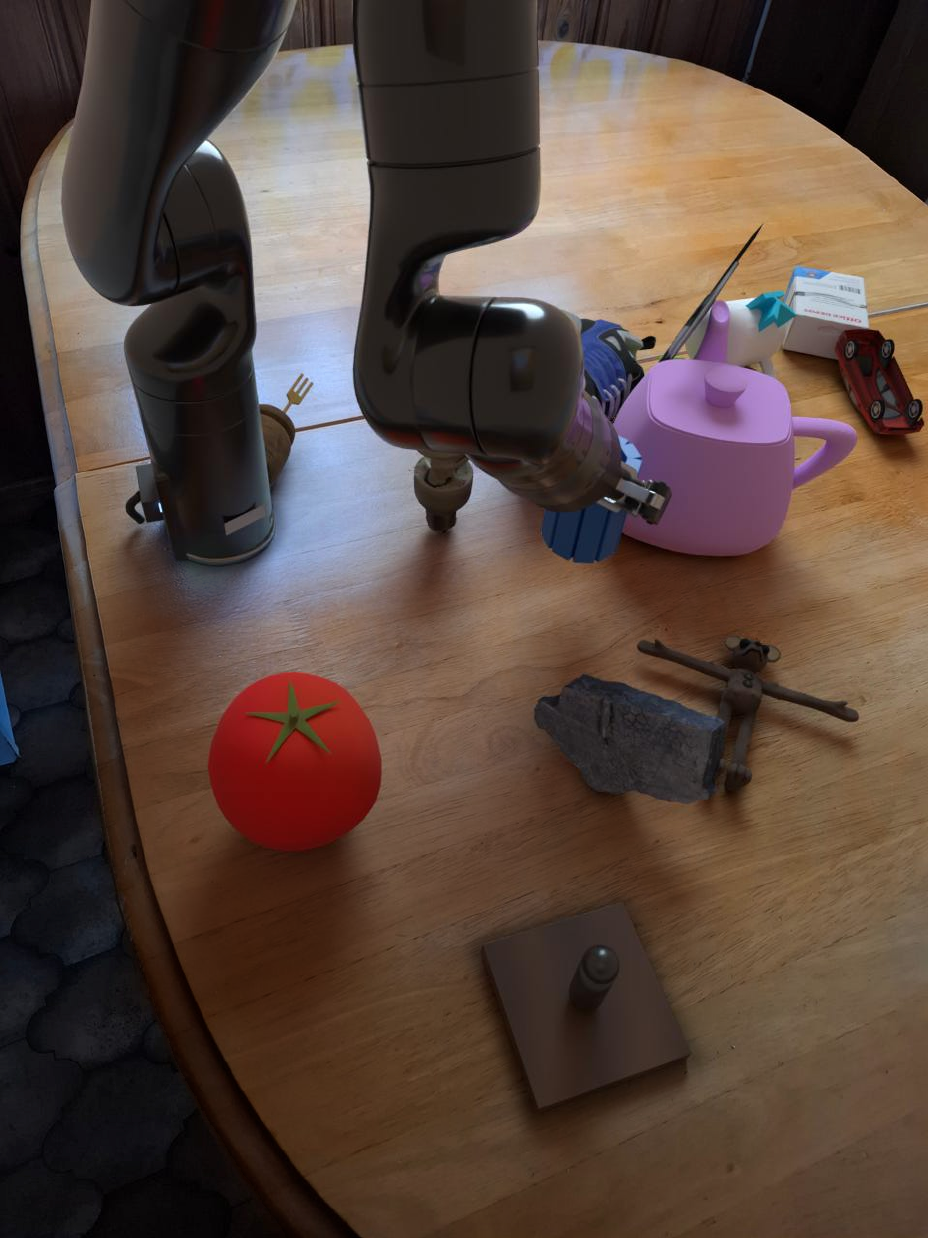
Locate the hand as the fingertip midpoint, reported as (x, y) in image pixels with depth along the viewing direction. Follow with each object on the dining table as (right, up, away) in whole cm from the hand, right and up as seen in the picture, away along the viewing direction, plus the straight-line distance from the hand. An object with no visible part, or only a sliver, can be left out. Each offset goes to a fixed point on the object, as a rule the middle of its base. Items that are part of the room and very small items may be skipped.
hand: (598, 484), depth 73 cm
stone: (0, -22, -4) cm, 23 cm away
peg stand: (-3, -35, -16) cm, 39 cm away
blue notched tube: (-1, -4, +2) cm, 5 cm away
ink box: (+34, +30, +40) cm, 60 cm away
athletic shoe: (-4, +13, +19) cm, 24 cm away
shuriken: (+4, +16, +19) cm, 25 cm away
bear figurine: (+11, -19, 0) cm, 22 cm away
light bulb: (-13, -3, +11) cm, 18 cm away
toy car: (+35, +16, +25) cm, 46 cm away
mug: (+16, +17, +21) cm, 32 cm away
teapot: (+10, 0, +16) cm, 19 cm away
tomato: (-22, -25, -8) cm, 34 cm away
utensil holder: (-31, +3, +10) cm, 33 cm away
